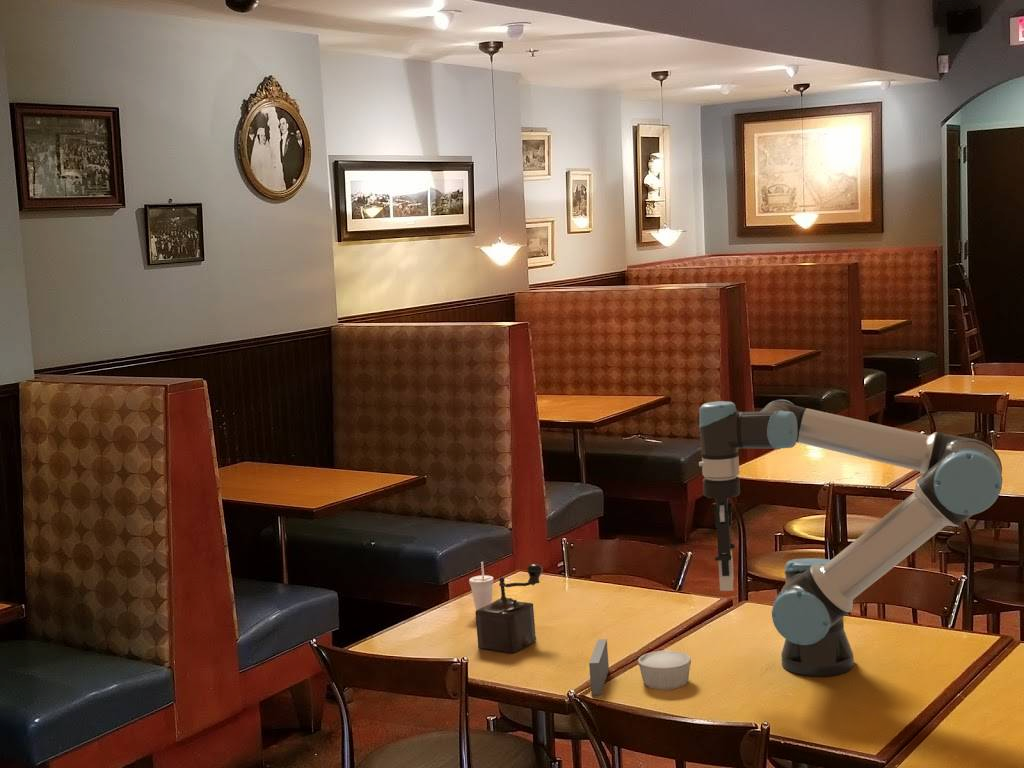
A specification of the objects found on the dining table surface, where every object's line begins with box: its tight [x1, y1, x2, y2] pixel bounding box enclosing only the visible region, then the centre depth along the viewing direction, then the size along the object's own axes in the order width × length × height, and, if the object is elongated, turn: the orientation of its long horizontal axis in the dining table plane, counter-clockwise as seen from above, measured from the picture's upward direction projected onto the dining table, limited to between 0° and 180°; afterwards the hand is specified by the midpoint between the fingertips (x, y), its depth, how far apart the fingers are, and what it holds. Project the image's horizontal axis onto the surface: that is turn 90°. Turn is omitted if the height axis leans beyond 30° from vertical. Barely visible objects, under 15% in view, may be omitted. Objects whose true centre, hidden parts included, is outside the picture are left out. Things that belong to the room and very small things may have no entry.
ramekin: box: [637, 650, 692, 691], centre depth 259 cm, size 11×11×5 cm
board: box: [588, 638, 610, 696], centre depth 262 cm, size 2×15×7 cm, turn 169°
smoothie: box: [468, 561, 495, 611], centre depth 315 cm, size 6×6×14 cm
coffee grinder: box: [475, 563, 544, 655], centre depth 292 cm, size 16×11×18 cm
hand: (726, 584), depth 254 cm, fingers open, 7 cm apart
